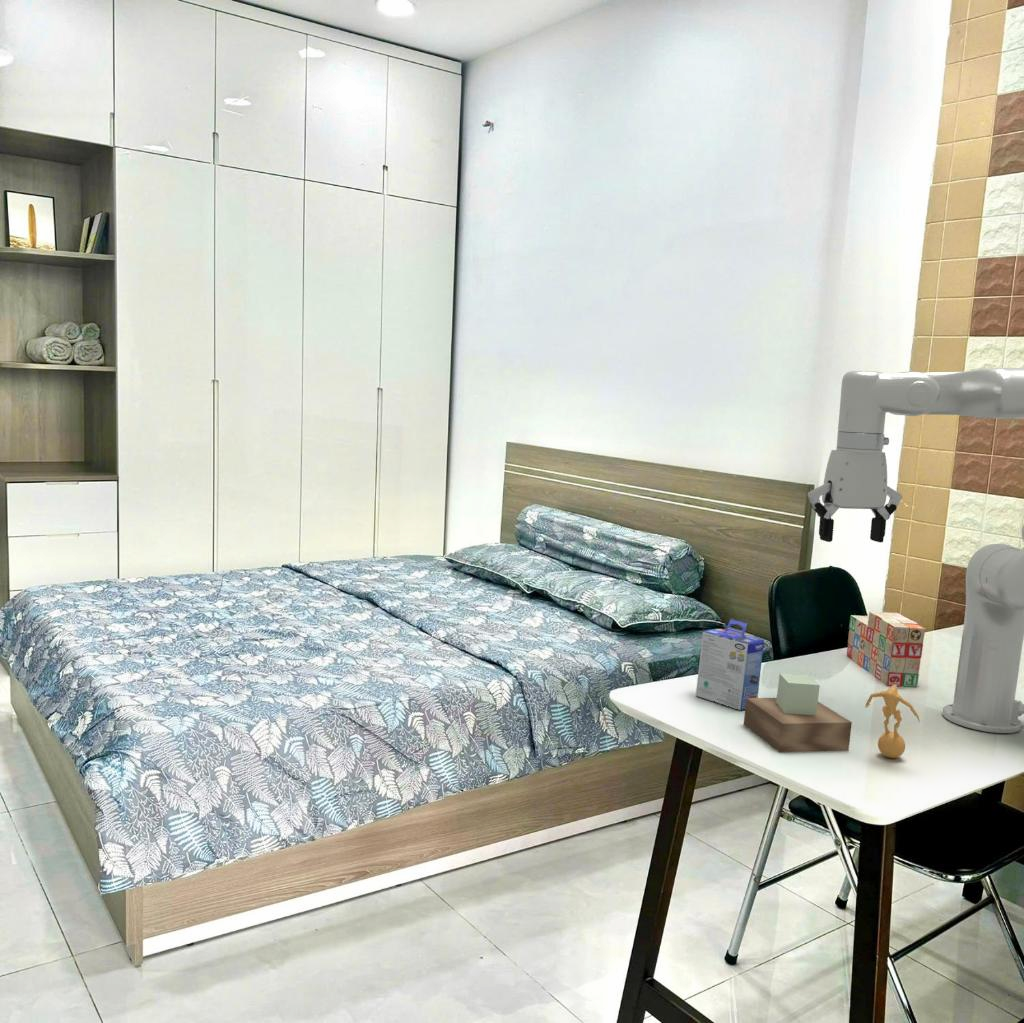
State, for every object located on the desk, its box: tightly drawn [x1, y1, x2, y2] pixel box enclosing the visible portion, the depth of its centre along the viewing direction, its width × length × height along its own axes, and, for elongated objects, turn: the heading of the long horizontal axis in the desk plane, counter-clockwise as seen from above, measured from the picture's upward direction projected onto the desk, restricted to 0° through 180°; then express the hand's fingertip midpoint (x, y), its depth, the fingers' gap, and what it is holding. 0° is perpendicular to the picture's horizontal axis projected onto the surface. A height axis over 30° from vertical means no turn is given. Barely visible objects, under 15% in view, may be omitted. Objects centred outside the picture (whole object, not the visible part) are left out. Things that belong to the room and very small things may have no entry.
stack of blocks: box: [846, 611, 926, 689], centre depth 200 cm, size 21×6×12 cm, turn 2°
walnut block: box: [743, 697, 853, 753], centre depth 157 cm, size 12×12×5 cm
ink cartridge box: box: [695, 618, 765, 711], centre depth 172 cm, size 10×6×14 cm, turn 44°
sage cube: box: [776, 672, 820, 715], centre depth 156 cm, size 5×5×5 cm
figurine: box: [865, 685, 921, 759], centre depth 149 cm, size 8×6×12 cm
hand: (851, 541), depth 170 cm, fingers open, 9 cm apart
